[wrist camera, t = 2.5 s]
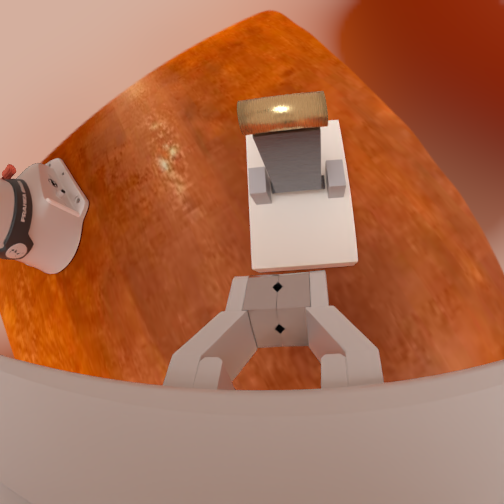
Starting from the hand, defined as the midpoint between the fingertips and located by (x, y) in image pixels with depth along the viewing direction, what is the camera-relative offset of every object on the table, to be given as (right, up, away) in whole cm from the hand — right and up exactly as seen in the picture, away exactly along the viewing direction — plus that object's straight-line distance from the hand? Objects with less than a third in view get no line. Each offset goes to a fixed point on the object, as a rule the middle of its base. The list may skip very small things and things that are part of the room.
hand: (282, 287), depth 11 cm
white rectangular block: (+5, +8, +30) cm, 32 cm away
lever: (+4, +9, +25) cm, 26 cm away
